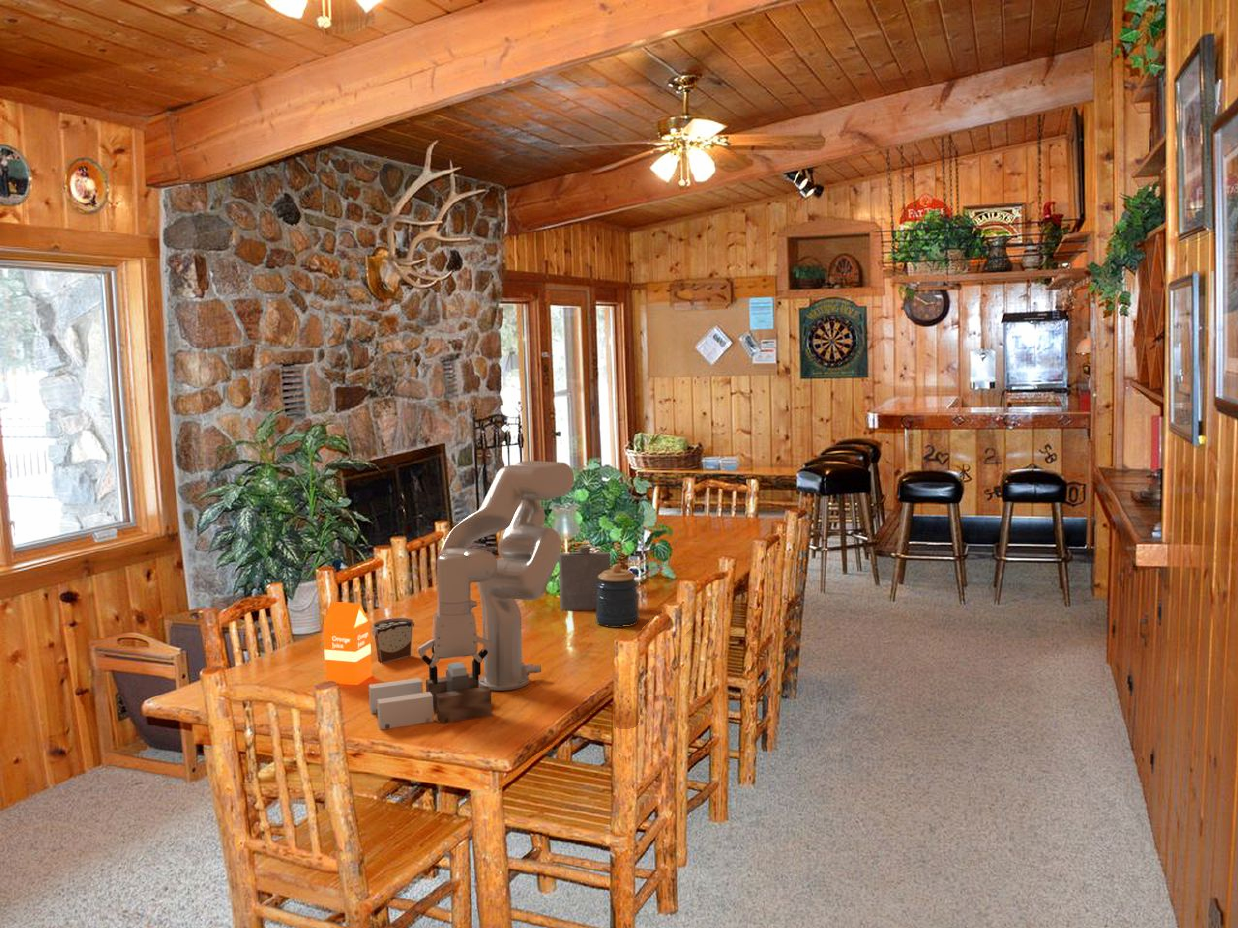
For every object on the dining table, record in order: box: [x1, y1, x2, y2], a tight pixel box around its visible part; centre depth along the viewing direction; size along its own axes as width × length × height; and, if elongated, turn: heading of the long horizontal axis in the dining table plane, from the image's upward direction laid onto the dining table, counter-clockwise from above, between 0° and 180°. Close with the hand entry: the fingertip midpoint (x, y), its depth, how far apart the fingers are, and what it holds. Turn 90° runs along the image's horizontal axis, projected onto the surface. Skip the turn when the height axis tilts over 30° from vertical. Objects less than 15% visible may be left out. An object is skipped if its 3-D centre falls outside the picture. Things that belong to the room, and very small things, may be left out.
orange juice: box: [323, 601, 373, 686], centre depth 279 cm, size 8×9×20 cm
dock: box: [368, 677, 435, 730], centre depth 253 cm, size 12×14×6 cm
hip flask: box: [558, 545, 611, 611], centre depth 344 cm, size 16×4×20 cm, turn 95°
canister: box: [595, 563, 640, 626], centre depth 328 cm, size 13×13×18 cm
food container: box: [371, 617, 415, 664], centre depth 297 cm, size 12×6×10 cm, turn 135°
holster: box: [425, 672, 493, 724], centre depth 256 cm, size 12×14×6 cm
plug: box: [445, 661, 470, 692], centre depth 256 cm, size 4×6×11 cm, turn 22°
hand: (455, 680), depth 254 cm, fingers open, 9 cm apart
